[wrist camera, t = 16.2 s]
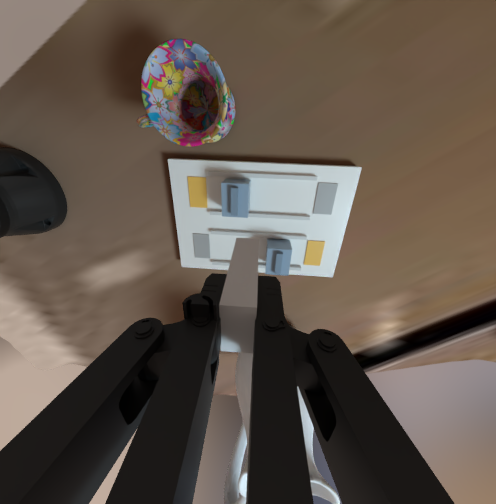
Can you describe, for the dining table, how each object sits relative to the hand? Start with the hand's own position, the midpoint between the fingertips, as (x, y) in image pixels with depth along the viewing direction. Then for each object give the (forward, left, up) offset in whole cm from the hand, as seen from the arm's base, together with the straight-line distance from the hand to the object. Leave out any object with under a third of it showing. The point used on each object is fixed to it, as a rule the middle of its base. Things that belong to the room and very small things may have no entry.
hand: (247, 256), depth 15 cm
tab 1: (-3, -1, -23) cm, 23 cm away
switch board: (0, -6, -25) cm, 25 cm away
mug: (-9, +10, -25) cm, 29 cm away
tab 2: (+4, -11, -23) cm, 25 cm away
